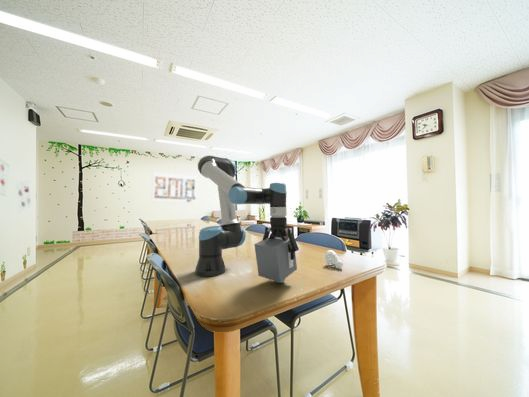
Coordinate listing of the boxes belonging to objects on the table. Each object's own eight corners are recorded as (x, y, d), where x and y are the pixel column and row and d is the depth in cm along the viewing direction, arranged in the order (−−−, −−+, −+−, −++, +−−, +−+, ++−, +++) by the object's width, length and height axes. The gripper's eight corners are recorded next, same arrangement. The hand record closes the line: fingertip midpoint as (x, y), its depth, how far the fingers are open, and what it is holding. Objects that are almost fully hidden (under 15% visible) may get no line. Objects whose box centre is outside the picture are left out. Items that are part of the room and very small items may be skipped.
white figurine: (332, 248, 122) (347, 255, 110) (331, 262, 122) (346, 270, 111) (323, 249, 120) (337, 256, 108) (323, 263, 120) (336, 272, 109)
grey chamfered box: (258, 275, 91) (254, 244, 89) (276, 264, 100) (272, 235, 99) (280, 282, 83) (276, 247, 81) (297, 269, 93) (293, 238, 91)
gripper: (253, 216, 98) (253, 261, 97) (297, 218, 82) (298, 271, 82) (263, 215, 104) (263, 258, 103) (306, 217, 88) (307, 267, 87)
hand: (278, 264), depth 92 cm, fingers closed on grey chamfered box, 12 cm apart
